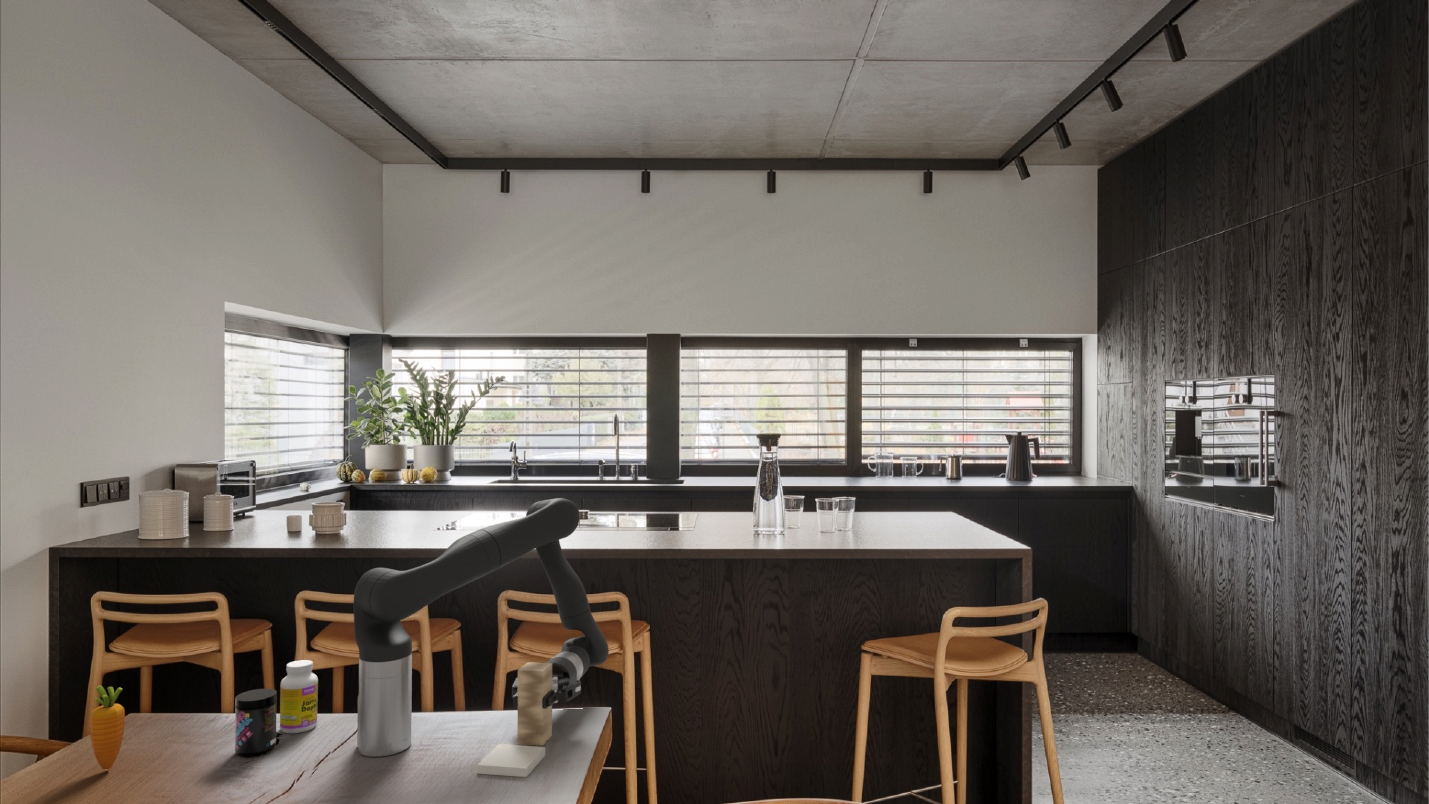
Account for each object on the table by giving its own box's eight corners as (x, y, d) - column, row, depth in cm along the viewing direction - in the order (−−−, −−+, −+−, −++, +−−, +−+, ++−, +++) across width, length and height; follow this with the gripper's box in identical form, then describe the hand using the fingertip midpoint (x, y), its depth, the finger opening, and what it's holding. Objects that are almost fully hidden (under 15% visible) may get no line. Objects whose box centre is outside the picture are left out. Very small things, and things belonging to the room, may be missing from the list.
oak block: (517, 744, 153) (517, 670, 153) (527, 733, 158) (527, 662, 158) (542, 745, 152) (542, 671, 153) (551, 735, 157) (552, 663, 157)
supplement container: (241, 745, 152) (242, 690, 152) (280, 742, 154) (281, 687, 154) (229, 760, 146) (229, 702, 146) (270, 757, 147) (270, 699, 147)
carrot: (131, 767, 143) (132, 682, 143) (101, 779, 138) (103, 691, 138) (111, 763, 144) (112, 679, 144) (81, 775, 140) (83, 688, 140)
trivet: (477, 773, 141) (477, 764, 141) (498, 752, 149) (498, 744, 150) (526, 777, 139) (526, 768, 139) (545, 755, 148) (545, 747, 148)
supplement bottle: (301, 736, 157) (302, 669, 157) (271, 733, 158) (272, 667, 158) (324, 723, 163) (325, 659, 163) (296, 720, 165) (296, 657, 165)
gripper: (528, 654, 171) (494, 680, 154) (593, 657, 168) (566, 684, 152) (528, 690, 171) (493, 720, 154) (593, 694, 168) (566, 725, 152)
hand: (530, 702), depth 153 cm, fingers closed on oak block, 5 cm apart
